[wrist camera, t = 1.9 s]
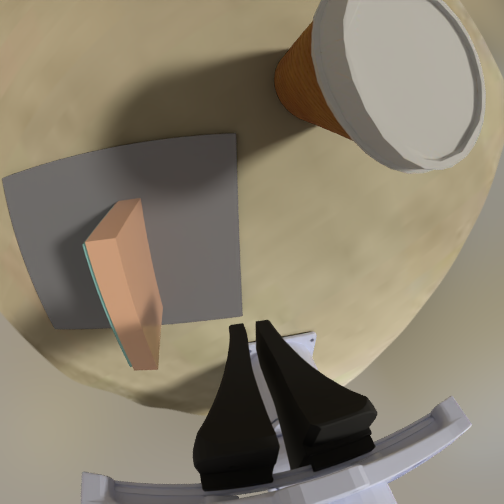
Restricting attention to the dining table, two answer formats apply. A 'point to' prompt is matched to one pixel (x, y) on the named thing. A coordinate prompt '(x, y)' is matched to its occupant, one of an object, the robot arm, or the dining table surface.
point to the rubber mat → (155, 217)
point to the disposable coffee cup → (388, 80)
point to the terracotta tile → (127, 282)
